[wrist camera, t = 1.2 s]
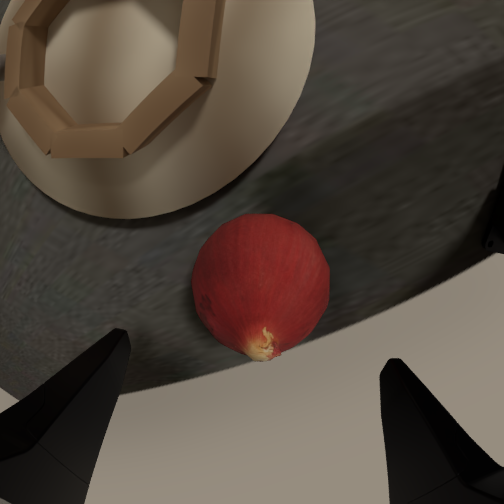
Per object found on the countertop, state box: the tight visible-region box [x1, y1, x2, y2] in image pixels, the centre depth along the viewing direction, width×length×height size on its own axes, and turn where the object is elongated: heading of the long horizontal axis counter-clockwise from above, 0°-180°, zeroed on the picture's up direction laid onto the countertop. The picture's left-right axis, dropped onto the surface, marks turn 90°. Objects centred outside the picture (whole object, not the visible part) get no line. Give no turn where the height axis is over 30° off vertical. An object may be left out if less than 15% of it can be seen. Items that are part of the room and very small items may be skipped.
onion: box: [191, 214, 330, 361], centre depth 13 cm, size 6×6×8 cm
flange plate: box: [0, 0, 315, 219], centre depth 9 cm, size 18×18×4 cm
